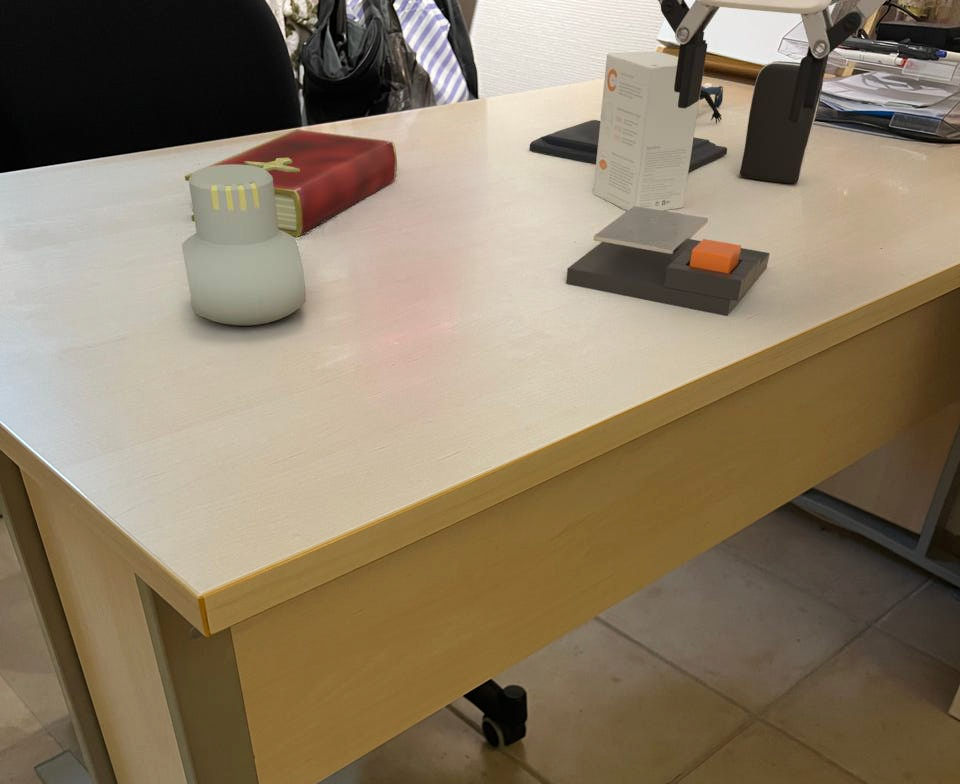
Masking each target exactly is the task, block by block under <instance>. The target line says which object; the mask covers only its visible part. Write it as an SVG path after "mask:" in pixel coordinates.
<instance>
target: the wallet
mask: <svg viewBox="0 0 960 784" xmlns="http://www.w3.org/2000/svg"><path fill="white" fill-rule="evenodd" d="M599 130H600V119H592V120H588V121H585V122H581V123H578V124H575V125H572V126H569V127H566V128H563V129H560V130H557V131H555V132H553V133H552V132H551V133H549V134H546V135H543V136H540V137H539V138H537V139H534V140H532V141H531V142H530V143H529V149H528V150H529V151H530V152H534V153H539V154H544V155H548V156H554V157H559V158H564V159H569V160H574V161H578V162H585V163H588V164H589V163H590V164H594V165H596V160H597V150H598V140H599ZM727 152H728V148H727V147H726V146H722V145H717V144H715V142H711V141H710V139H706V138H699V137H695V136H694V138H693V145H692V152H691V158H690V165H689V171H688V173H690V172H691V171H693V170H696V169H697V168H700V167H702V166H704V165H706V164H708V163H710V162H713V161H716V160H717V159H719V158H721V157H724V156H726V155H727Z"/></svg>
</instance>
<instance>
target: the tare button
mask: <svg viewBox="0 0 960 784" xmlns="http://www.w3.org/2000/svg"><path fill="white" fill-rule="evenodd" d="M700 241H701V242H700V243H699V244H698V245H697V246H696V247H695V248H694V249H693V250H692V254H691V260H690V266H691V267H697V268H702V269H708V270H713V271H718V272H724V273H729V274H730V272H731V271H732V270H733V269H734V268H735V267H736V266H737V265H738V261H739V256H740V251H741V248H742V245H741V244H735V243H730V242H723V241H717V240H712V239H706V238H703V239H702V240H700Z"/></svg>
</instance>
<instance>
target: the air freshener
mask: <svg viewBox="0 0 960 784" xmlns="http://www.w3.org/2000/svg"><path fill="white" fill-rule="evenodd" d="M209 166H210V165H209ZM205 167H206V168H205ZM205 167H202V168H200V169H197V170H195V171H194V173H193V172H192V173H193V174H192V175H191V177H190V178H189V181H188V185H189V186H188V187H189V192H190V199H191V204H192V211H193V212H192V213H193V215H194V219H195V221H194V225H195V226H194V227H195V231H196V233H194V234H193V235H191V236H189V237H188V238H186V239H185V240H184V241H183V242H182V243H181V248H182V253H183V259H184V265H185V271H186V276H187V283H188V289H189V295H190V300H191V306H192V312H193V313H194V314H196V315H197V316H200V317H201V318H204V319H207V320H208V321H212V322H215V323H218V324H222V325H228V326H238V327H241V326H242V327H243V326H246V327H247V326H248V327H250V326H259V325H265V324H269V323H273V322H276V321H279V320H282V319H283V318H285V317H287V316H289V315H291V314H293V313H295V312H296V311H297V310H299V309H300V308H301V307H302V306H303V305H304V304H305V303H306V300H307V288H306V281H305V273H304V266H303V261H302V258H301V257H302V256H301V253H300V249H299V246H298V242H297V240H296V239H295V236H291V235H290V234H288V233H286V232H284V231H282V230H279V229H278V220H277V211H276V203H275V194H274V186H273V177H272V176H271V175H270V174H269V173H268V172H267V171H266V170H265V169H263V168H260V167H256V166H250V165H237V164H230V165H217V166H210V167H208V166H205Z"/></svg>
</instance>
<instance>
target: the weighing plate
mask: <svg viewBox="0 0 960 784" xmlns="http://www.w3.org/2000/svg"><path fill="white" fill-rule="evenodd" d="M708 220H709V218H708V217H703V216H696V215H691V214H685V213H679V212H672V211H668V210H664V211H661V210H655V209H649V208H643V207H637V206H633V207H632V208H631V209H629V210H628V211H627V210H626V211H625V212H624V213H623V214H621V215H620V216H618V217H617V218H615V220H613V221H612V222H611V223H609V224H607V226H605V227H604V228H603V229H600V231H598V232H597V233H595V234H594V235H593V241H595V242H596V241H597V242H600V243H601V242H606V243H611V244H617V245H622V246H628V247H633V248H639V249H644V250H650V251H655V252H661V253H666V254H672V255H673V254H674V253H675V252H676V251H677V250H678V249H679V248H680V247H682V246H683V245H684V244H685V243H686V242H687V241H688V240H689V239H692V238H693V237H694V236H695V235H696V234H697V233H698V232H699V231H700V230H701V229H702V228H703V227H704V226H706V224H708V222H709V221H708Z"/></svg>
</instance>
